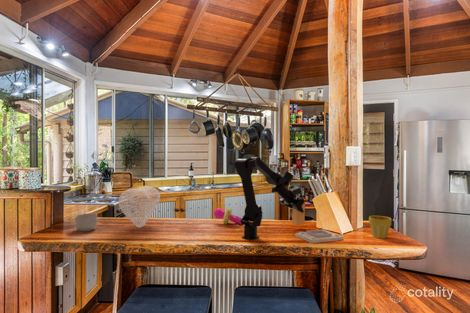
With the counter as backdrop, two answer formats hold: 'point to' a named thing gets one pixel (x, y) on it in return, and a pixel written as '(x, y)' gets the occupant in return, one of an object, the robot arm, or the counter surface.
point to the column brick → (298, 216)
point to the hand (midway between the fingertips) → (300, 211)
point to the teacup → (86, 221)
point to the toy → (227, 216)
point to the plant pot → (380, 226)
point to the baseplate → (318, 236)
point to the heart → (140, 189)
